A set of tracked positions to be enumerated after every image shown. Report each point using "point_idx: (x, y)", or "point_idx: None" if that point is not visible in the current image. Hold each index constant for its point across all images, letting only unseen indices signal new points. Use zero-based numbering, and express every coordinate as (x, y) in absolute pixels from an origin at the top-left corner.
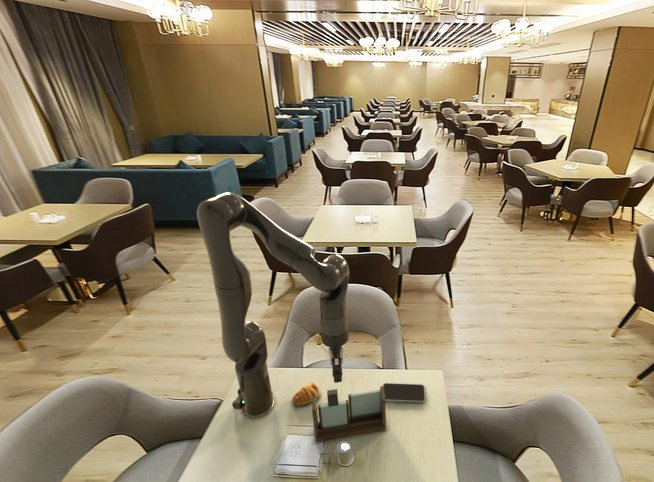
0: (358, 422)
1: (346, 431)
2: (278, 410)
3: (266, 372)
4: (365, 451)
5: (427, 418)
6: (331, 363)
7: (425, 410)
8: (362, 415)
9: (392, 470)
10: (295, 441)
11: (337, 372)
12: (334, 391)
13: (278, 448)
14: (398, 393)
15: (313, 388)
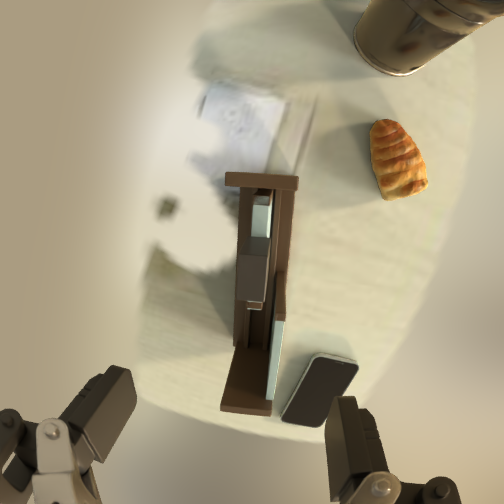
0: None
1: None
2: (367, 83)
3: (441, 20)
4: (192, 287)
5: None
6: (36, 485)
7: None
8: (270, 308)
9: (147, 326)
10: (259, 120)
11: (15, 453)
12: (251, 289)
13: (250, 81)
14: (318, 387)
15: (406, 183)
